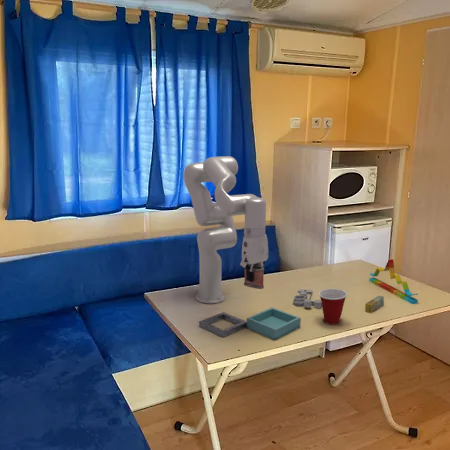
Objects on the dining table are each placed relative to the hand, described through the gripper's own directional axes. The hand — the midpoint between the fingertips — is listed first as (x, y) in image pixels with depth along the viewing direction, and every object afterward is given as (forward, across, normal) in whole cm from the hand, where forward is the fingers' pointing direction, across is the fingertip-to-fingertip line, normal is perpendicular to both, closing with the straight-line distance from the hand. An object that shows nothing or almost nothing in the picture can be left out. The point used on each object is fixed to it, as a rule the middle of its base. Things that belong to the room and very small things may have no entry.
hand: (253, 279), depth 178 cm
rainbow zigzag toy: (+20, +76, -17) cm, 80 cm away
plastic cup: (+20, +27, -17) cm, 37 cm away
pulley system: (+20, +36, +1) cm, 41 cm away
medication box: (+20, +51, -22) cm, 59 cm away
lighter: (+3, 0, 0) cm, 3 cm away
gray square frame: (+19, -8, +8) cm, 22 cm away
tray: (+19, +6, -5) cm, 21 cm away
